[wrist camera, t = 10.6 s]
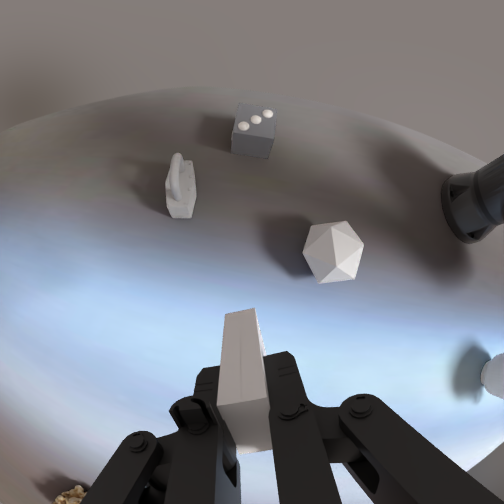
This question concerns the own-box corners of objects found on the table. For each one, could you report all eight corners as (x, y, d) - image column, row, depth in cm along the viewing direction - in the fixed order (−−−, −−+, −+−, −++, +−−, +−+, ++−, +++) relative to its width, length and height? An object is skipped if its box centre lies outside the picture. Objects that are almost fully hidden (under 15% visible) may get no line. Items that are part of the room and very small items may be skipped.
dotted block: (270, 130, 45) (277, 108, 39) (267, 159, 44) (274, 138, 38) (235, 124, 44) (237, 102, 39) (229, 153, 43) (231, 131, 37)
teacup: (476, 416, 39) (505, 424, 29) (469, 369, 41) (503, 373, 31) (502, 383, 41) (530, 387, 31) (495, 336, 43) (527, 336, 33)
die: (313, 297, 41) (372, 289, 34) (279, 261, 37) (344, 246, 30) (325, 255, 45) (378, 242, 39) (296, 218, 41) (352, 200, 35)
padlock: (195, 219, 40) (188, 192, 31) (168, 218, 40) (154, 192, 30) (198, 175, 42) (193, 140, 32) (173, 175, 41) (162, 140, 32)
